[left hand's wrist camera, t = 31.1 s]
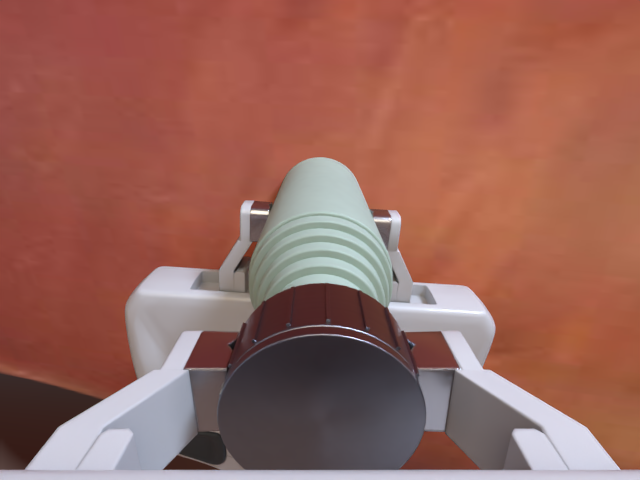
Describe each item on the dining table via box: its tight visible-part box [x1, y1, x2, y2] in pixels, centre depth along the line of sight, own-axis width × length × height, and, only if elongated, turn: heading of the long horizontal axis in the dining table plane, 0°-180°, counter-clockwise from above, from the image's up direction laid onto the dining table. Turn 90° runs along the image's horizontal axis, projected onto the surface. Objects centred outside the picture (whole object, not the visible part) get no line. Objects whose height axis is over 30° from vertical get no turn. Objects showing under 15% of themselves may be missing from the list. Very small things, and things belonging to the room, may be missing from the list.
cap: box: [217, 283, 426, 470], centre depth 9 cm, size 4×4×2 cm
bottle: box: [248, 157, 393, 310], centre depth 17 cm, size 5×5×18 cm
